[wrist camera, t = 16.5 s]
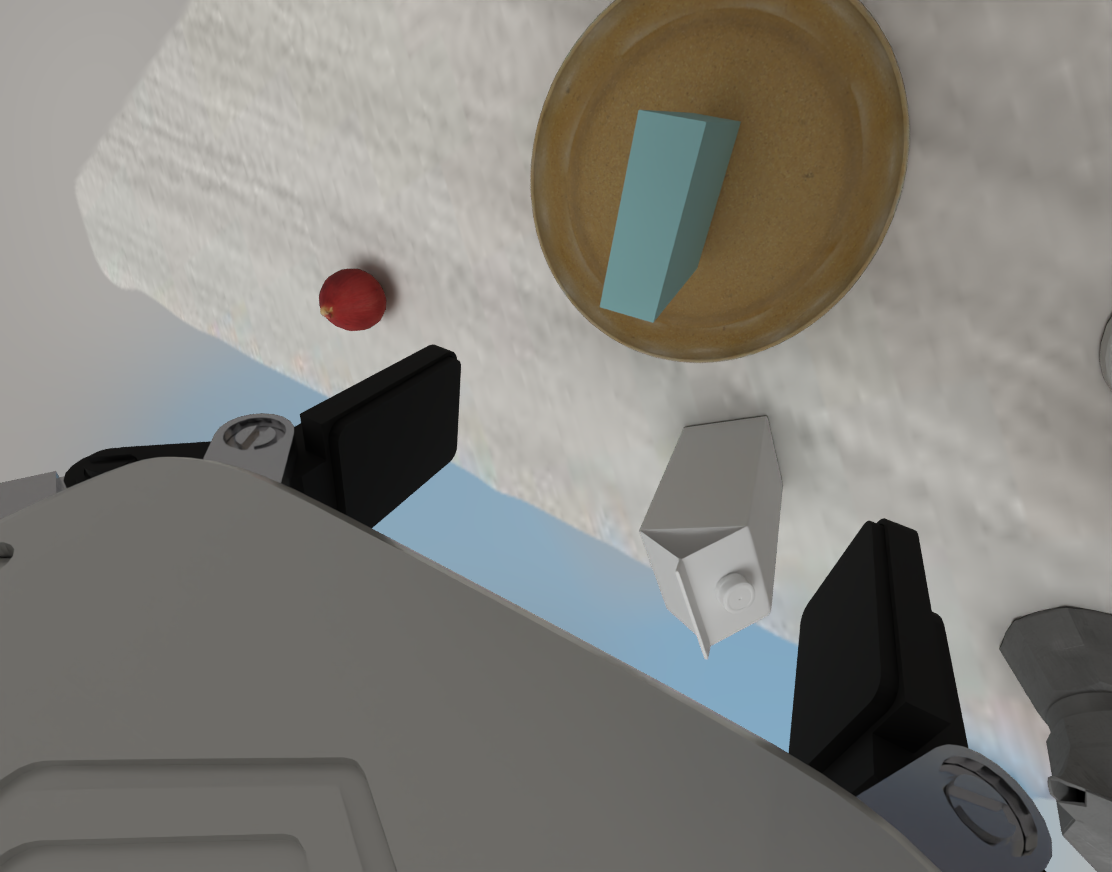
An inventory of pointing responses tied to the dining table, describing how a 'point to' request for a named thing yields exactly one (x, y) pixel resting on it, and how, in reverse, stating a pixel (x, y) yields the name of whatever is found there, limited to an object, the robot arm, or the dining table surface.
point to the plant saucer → (754, 167)
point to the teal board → (665, 208)
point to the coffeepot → (1072, 716)
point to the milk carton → (717, 528)
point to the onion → (352, 300)
